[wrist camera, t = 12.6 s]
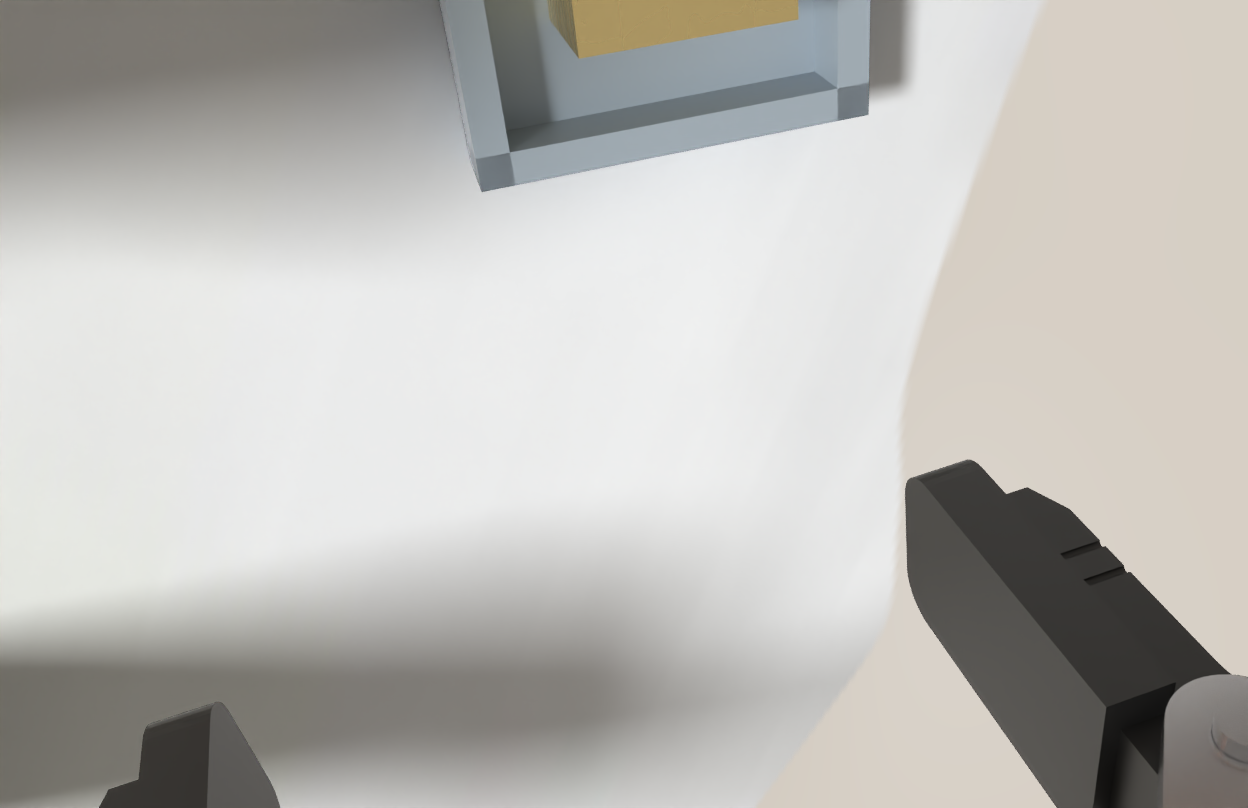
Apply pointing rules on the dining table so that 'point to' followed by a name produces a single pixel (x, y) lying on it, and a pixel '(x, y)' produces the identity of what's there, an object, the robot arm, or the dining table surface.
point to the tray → (643, 87)
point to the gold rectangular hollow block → (657, 21)
